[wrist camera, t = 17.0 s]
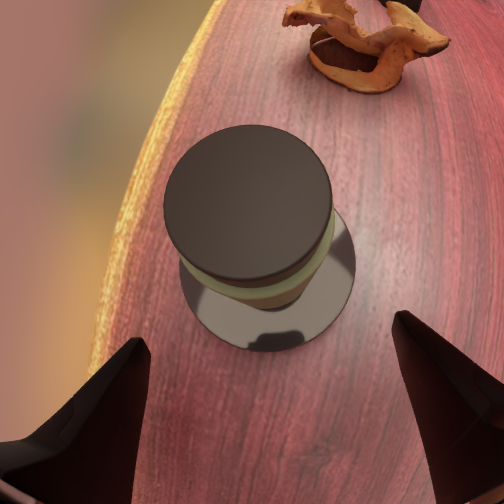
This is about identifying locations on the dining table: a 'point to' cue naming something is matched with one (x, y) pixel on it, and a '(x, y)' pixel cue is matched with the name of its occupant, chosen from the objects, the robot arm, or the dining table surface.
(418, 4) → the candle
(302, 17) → the bone
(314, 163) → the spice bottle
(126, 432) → the robot arm
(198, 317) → the trivet
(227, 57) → the dining table surface
